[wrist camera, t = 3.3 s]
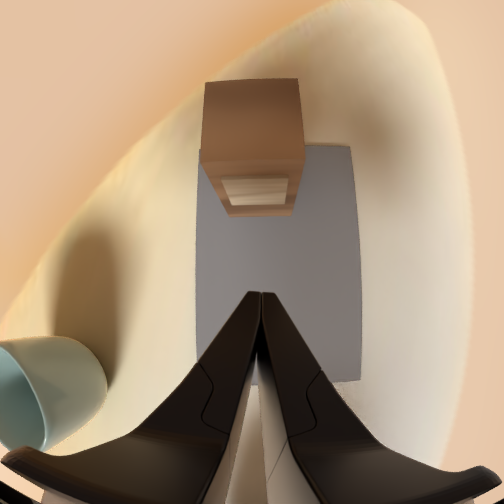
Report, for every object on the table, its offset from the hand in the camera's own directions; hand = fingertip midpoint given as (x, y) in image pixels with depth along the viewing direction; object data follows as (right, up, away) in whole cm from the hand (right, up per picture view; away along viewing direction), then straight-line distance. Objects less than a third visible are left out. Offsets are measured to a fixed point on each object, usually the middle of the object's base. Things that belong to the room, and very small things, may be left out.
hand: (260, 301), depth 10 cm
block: (0, +6, +13) cm, 15 cm away
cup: (-15, -9, +13) cm, 22 cm away
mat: (+2, +1, +13) cm, 13 cm away
